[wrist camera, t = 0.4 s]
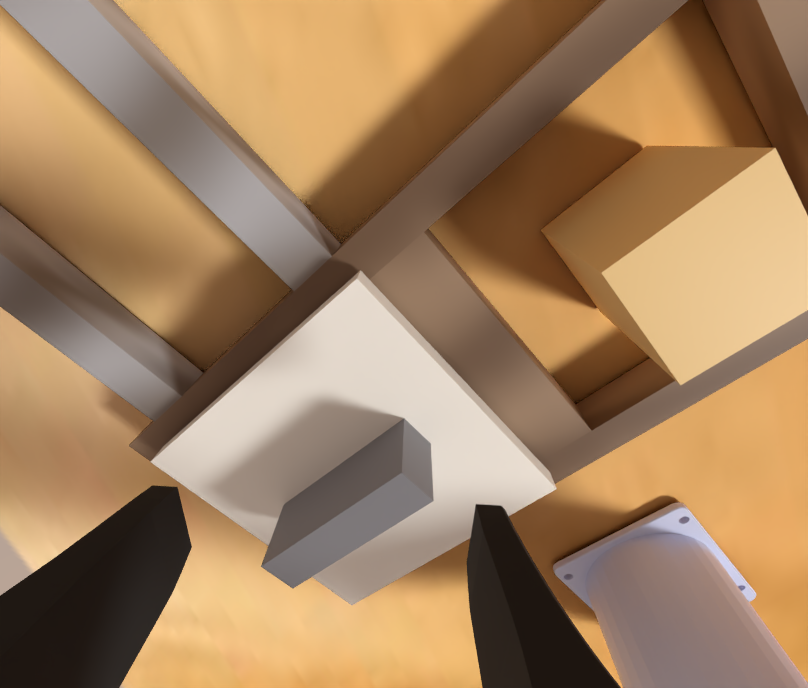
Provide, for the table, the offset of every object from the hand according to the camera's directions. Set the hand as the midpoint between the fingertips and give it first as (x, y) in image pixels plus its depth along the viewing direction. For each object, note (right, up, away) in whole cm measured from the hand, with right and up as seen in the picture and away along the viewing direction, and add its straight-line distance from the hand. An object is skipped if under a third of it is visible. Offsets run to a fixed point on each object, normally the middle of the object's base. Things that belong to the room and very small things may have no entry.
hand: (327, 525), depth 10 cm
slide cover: (0, -1, +8) cm, 8 cm away
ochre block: (+10, +9, +6) cm, 15 cm away
